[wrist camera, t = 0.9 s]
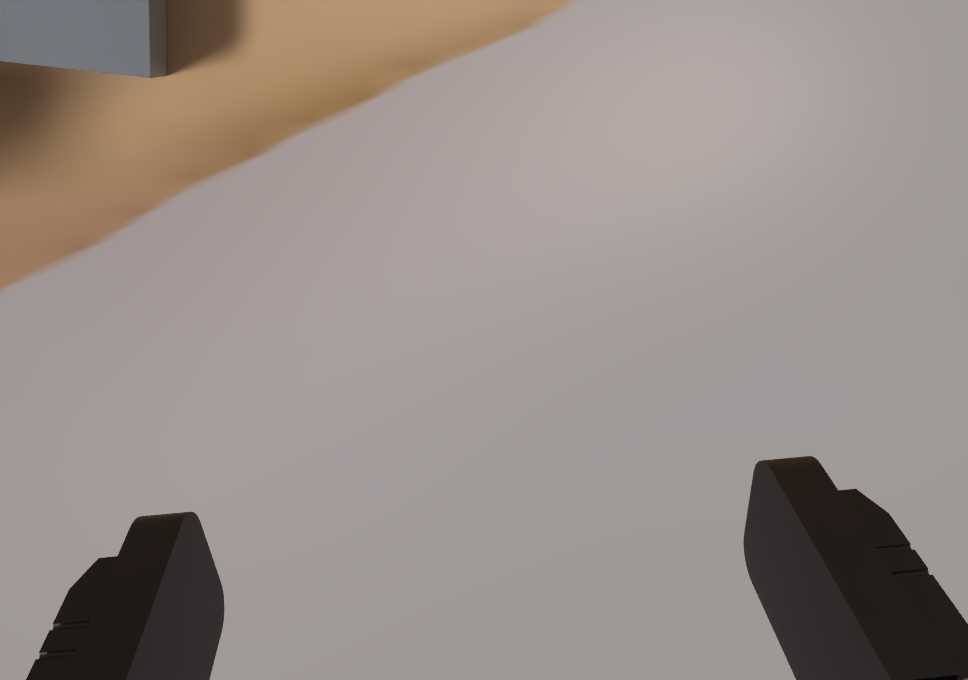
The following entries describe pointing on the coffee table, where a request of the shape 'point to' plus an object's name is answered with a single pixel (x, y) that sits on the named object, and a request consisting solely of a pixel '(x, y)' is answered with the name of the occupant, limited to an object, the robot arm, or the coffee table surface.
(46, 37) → the grey square hole board
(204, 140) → the coffee table surface
